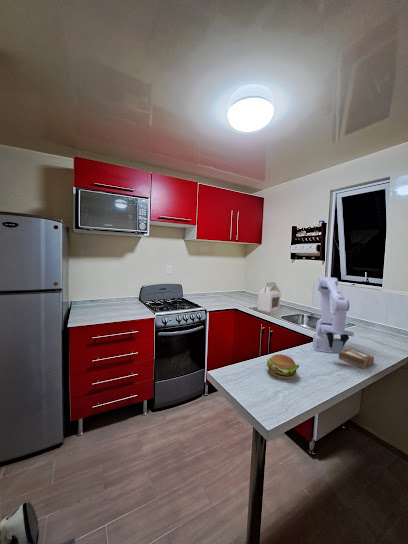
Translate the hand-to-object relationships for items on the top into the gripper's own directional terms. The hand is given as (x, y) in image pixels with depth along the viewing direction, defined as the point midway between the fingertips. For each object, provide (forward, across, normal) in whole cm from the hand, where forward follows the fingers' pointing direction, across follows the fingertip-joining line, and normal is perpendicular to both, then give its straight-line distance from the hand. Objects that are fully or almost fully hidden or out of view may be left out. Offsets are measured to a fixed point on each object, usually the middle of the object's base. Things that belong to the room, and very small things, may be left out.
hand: (335, 347), depth 119 cm
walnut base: (+8, +13, +6) cm, 17 cm away
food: (+9, -29, -21) cm, 37 cm away
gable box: (+9, -26, +110) cm, 114 cm away
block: (+2, 0, 0) cm, 2 cm away
